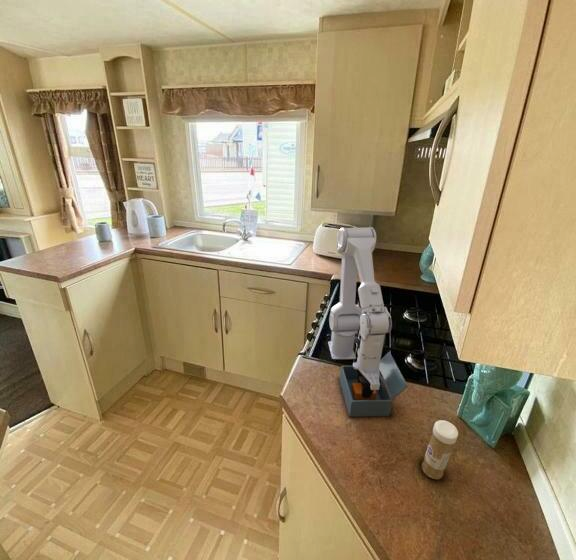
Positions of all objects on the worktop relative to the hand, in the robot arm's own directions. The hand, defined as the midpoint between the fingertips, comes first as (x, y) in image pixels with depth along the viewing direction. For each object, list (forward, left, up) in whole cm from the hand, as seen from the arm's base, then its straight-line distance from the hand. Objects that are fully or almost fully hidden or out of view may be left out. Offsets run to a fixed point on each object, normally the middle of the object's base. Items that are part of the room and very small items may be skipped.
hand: (363, 390), depth 89 cm
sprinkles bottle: (+22, +10, -2) cm, 24 cm away
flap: (0, +7, +6) cm, 9 cm away
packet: (0, 0, -1) cm, 1 cm away
